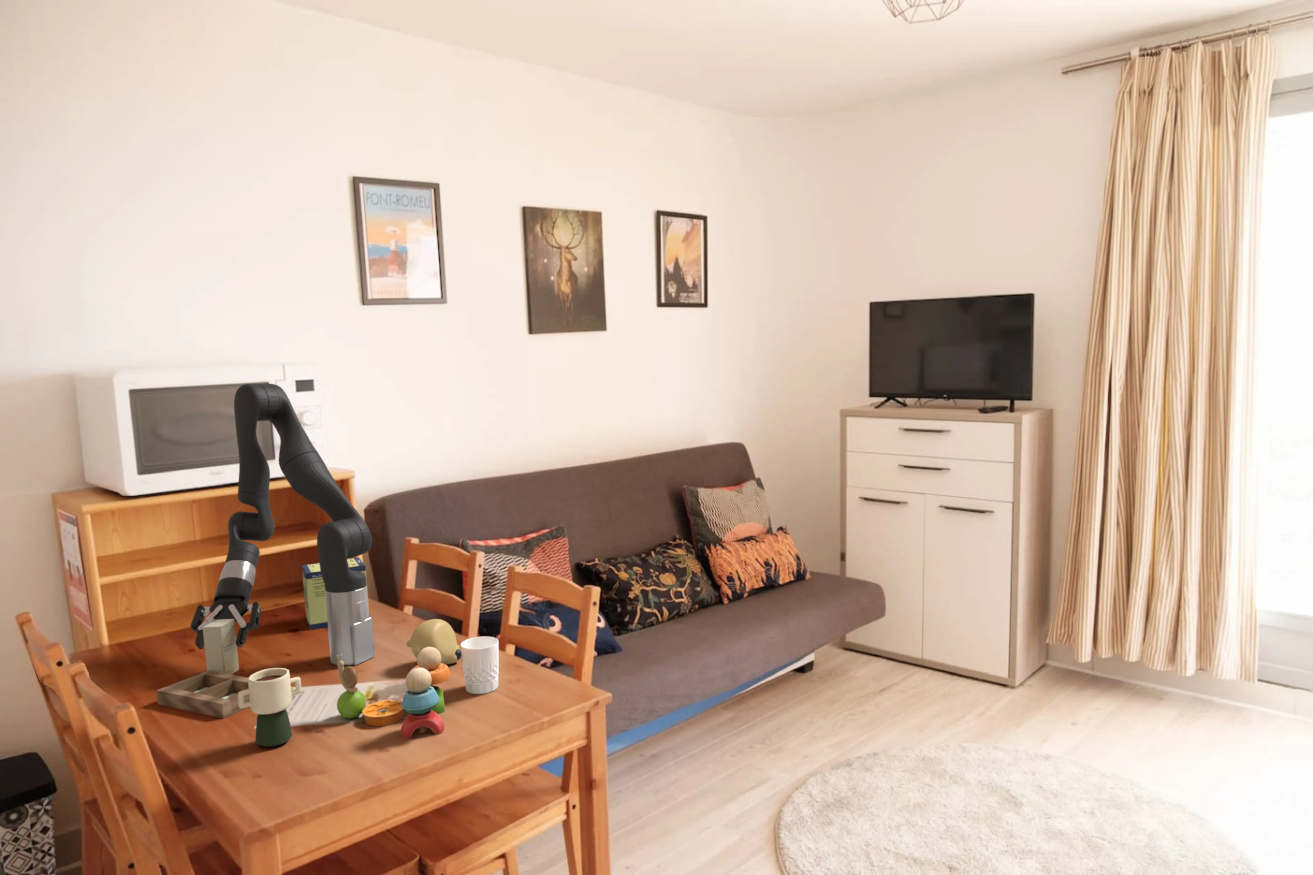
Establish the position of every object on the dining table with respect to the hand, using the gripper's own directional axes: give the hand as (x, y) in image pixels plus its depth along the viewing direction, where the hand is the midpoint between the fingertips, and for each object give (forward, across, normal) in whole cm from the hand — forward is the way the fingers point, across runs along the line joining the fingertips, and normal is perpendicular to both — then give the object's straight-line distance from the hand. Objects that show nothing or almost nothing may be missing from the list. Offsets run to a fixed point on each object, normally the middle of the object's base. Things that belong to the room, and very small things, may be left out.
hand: (219, 646), depth 193 cm
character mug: (+32, +25, -22) cm, 46 cm away
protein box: (-22, +15, +32) cm, 42 cm away
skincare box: (+4, 0, +5) cm, 7 cm away
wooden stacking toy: (+28, +49, -18) cm, 59 cm away
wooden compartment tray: (+15, +5, -6) cm, 17 cm away
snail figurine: (+25, +36, -15) cm, 47 cm away
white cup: (+18, +61, -8) cm, 64 cm away
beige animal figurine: (+6, +48, +4) cm, 49 cm away
